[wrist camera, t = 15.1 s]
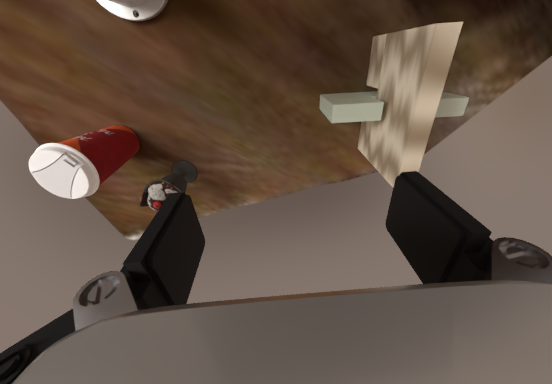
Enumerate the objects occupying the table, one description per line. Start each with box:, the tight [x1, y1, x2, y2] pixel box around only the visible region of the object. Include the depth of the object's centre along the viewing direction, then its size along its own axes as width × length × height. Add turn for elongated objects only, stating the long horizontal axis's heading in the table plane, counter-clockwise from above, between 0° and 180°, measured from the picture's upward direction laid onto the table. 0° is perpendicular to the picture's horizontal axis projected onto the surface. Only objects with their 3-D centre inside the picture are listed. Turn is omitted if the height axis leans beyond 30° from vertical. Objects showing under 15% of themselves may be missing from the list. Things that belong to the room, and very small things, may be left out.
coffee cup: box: [29, 125, 140, 199], centre depth 37 cm, size 8×8×15 cm
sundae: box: [140, 161, 197, 212], centre depth 40 cm, size 7×7×15 cm
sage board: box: [320, 91, 469, 123], centre depth 35 cm, size 2×18×10 cm, turn 93°
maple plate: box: [358, 22, 463, 188], centre depth 33 cm, size 18×2×16 cm, turn 3°
